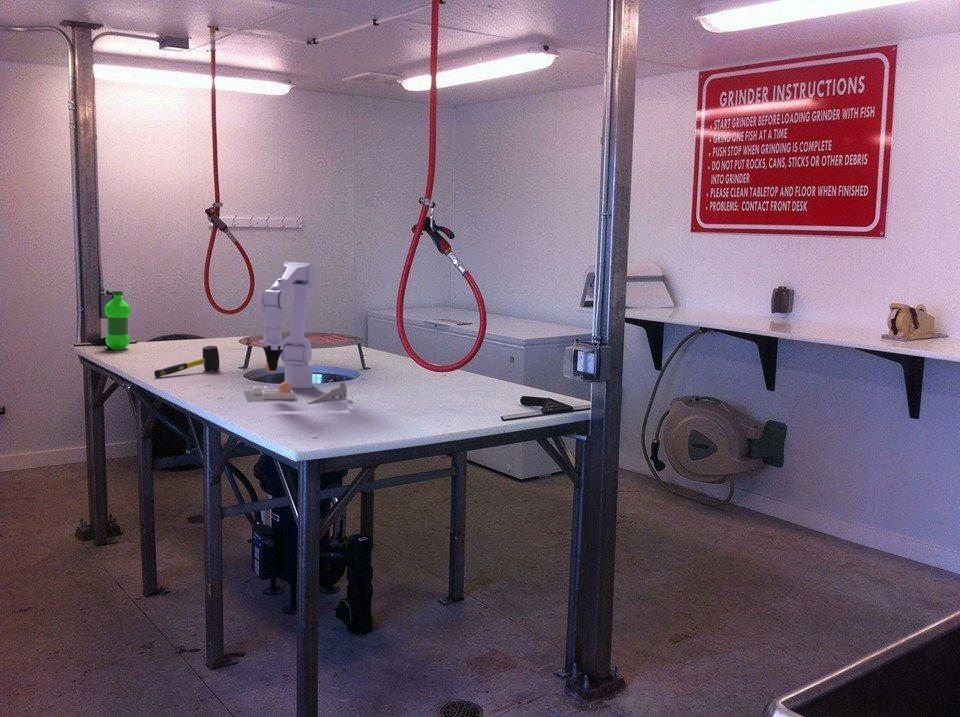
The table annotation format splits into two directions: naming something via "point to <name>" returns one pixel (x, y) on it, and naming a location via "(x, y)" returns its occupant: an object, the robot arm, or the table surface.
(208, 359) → the mallet
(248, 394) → the mat
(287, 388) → the ball left
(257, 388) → the tube
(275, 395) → the hollow rectangular frame
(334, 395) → the caliper
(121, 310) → the plastic bottle
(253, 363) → the table surface
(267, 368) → the ball
